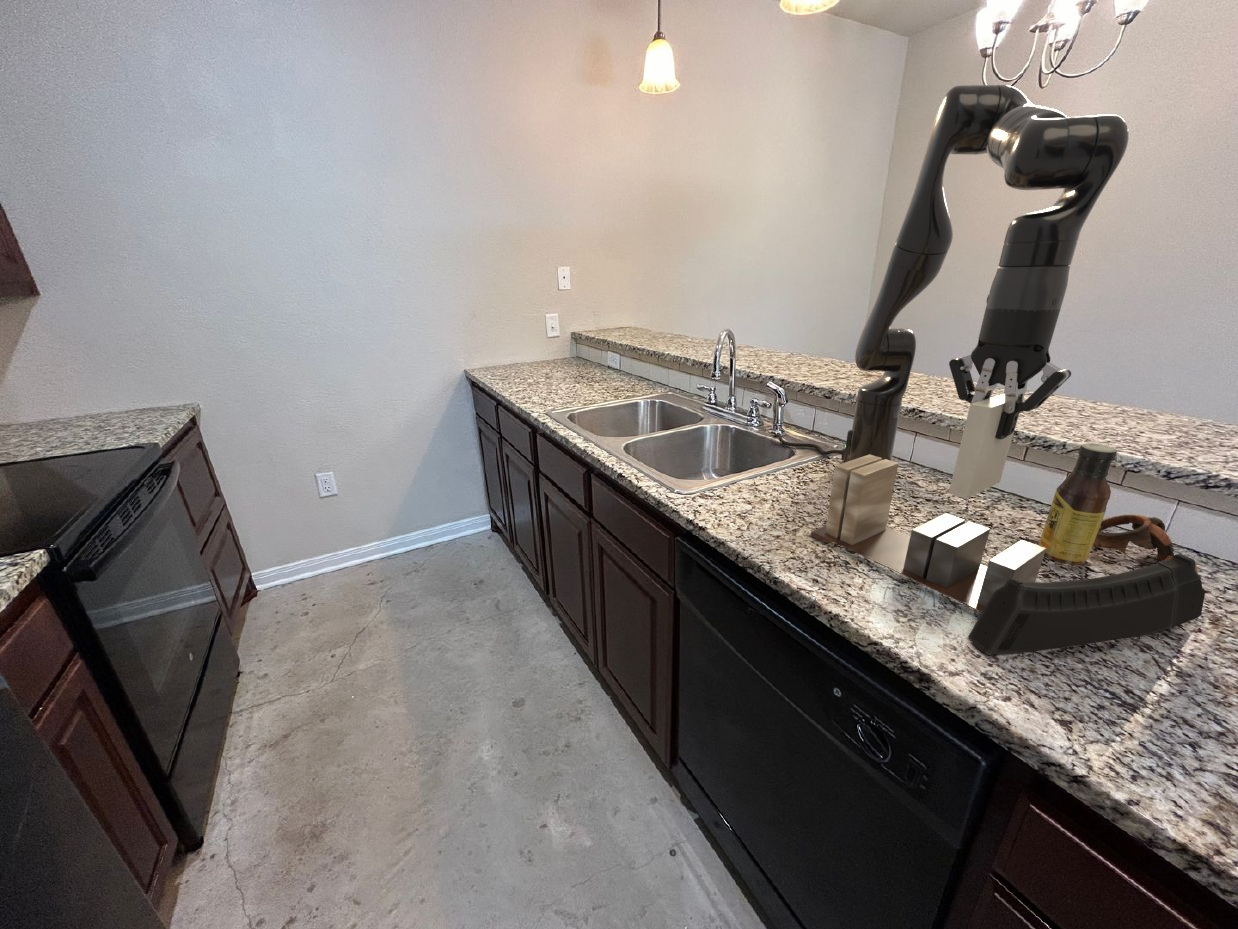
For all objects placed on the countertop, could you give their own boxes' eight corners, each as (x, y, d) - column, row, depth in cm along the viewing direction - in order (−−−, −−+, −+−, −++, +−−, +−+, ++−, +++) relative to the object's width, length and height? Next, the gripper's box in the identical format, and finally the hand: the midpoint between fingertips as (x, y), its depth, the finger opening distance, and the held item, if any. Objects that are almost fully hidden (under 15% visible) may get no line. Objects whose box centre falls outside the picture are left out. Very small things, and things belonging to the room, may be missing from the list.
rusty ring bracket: (1168, 585, 75) (1146, 537, 75) (1091, 580, 84) (1071, 537, 84) (1199, 546, 80) (1178, 501, 79) (1123, 545, 89) (1104, 504, 88)
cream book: (948, 493, 70) (970, 403, 66) (981, 477, 75) (1004, 393, 71) (966, 499, 69) (990, 407, 64) (999, 482, 74) (1024, 396, 69)
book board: (810, 536, 91) (820, 464, 86) (854, 517, 97) (865, 450, 92) (1007, 630, 66) (1036, 537, 61) (1047, 597, 72) (1077, 511, 67)
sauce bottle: (1038, 546, 86) (1073, 436, 79) (1086, 560, 82) (1128, 445, 74) (1032, 561, 81) (1068, 446, 74) (1082, 576, 77) (1126, 456, 70)
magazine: (986, 605, 57) (1222, 514, 58) (963, 588, 60) (1188, 503, 61) (989, 708, 63) (1201, 625, 64) (968, 688, 66) (1172, 609, 67)
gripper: (1105, 305, 59) (1060, 443, 65) (976, 301, 70) (948, 419, 76) (1081, 309, 55) (1036, 454, 62) (949, 304, 66) (922, 428, 73)
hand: (988, 434), depth 69 cm, fingers closed on cream book, 2 cm apart
